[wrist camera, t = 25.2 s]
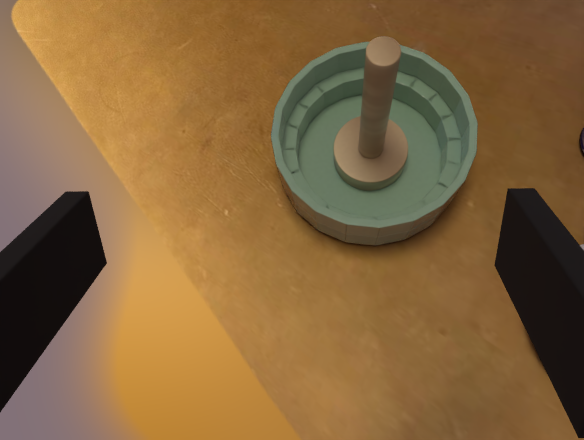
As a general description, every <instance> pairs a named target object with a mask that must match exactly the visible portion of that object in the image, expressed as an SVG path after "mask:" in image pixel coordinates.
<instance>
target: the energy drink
mask: <svg viewBox="0 0 584 440" xmlns="http://www.w3.org/2000/svg"><path fill="white" fill-rule="evenodd" d="M580 141H581V147H582V150H583V152H584V128H583V130H582V133H581V140H580Z"/></svg>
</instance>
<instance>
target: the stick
mask: <svg viewBox="0 0 584 440" xmlns="http://www.w3.org/2000/svg"><path fill="white" fill-rule="evenodd" d="M400 57H401V47H400V45H399V43H398V42H397V41H396V40H395V39H393V38H391V37H387V36H381V37H377V38H375V39H373V40H372V41H371V42H370V43H369V44H368V45H367V47H366V54H365V67H364V80H363V93H362V105H361V116H359V117H356V118H354V119H352V120H350V121H349V122H347V123H346V124H345V125H344V126H343V127H342V128H341V129H340V130H339V132H338V133H337V135H336V138H335V141H334V148H333V150H334V164H335V168H336V170H337V172H338V174H339V175H340V177H341V178H342V179H343V180H344V181H345V182H346V183H347V184H349V185H351V186H352V187H355V188H357V189H360V190H367V191H372V190H379V189H382V188H385V187H387V186H389V185H391V184H392V183H393V182H395V181H396V180H397V179H398V177H399V176H400V175H401V173H402V171H403V169H404V166H405V163H406V159H407V156H408V142H407V138H406V136H405V134H404V132H403V131H402V129H401V128H400V127H399V126H398V125H397V124H396V123H395V122H393V121H392V120H390V119H389V115H390V110H391V105H392V99H393V94H394V89H395V83H396V78H397V73H398V67H399V62H400Z"/></svg>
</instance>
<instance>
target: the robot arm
mask: <svg viewBox="0 0 584 440" xmlns="http://www.w3.org/2000/svg"><path fill="white" fill-rule="evenodd" d="M106 264H107V262H106V258H105V254H104V250H103V246H102V242H101V238H100V235H99V231H98V227H97V224H96V219H95V215H94V211H93V207H92V203H91V199H90V195H89V192H65V193H64V194H63V195H62V196H61V197H60V198H58V199H57V200H56V201H55V202H54V203H53V204H52V205H51V206H50V207H49V208H48V209H47V210H46V211H44V212H43V213H42V214H41V215H40V216H39V217H38V218H37V219H36V220H35V221H34V222H32V223H31V224H30V225H29V226H28V227H27V228H26V229H25V230H24V231H23V232H22V233H21V234H20V235H18V236H17V237H16V238H15V239H14V240H13V241H12V242H11V243H10V244H9V245H8V246H7V247H6V248H4V249H3V250H2V251H1V252H0V412H1V410H2V409H3V408H4V406H5V405H6V403H7V402H8V401H9V399H10V398H11V396H12V395H13V394H14V392H15V391H16V390H17V388H18V387H19V385H20V384H21V383H22V381H23V380H24V378H25V377H26V376H27V374H28V373H29V371H30V370H31V369H32V367H33V366H34V364H35V363H36V362H37V360H38V358H39V357H40V356H41V355H42V353H43V352H44V350H45V349H46V347H47V346H48V345H49V343H50V342H51V340H52V339H53V338H54V336H55V335H56V333H57V332H58V330H59V329H60V328H61V327H62V325H63V324H64V322H65V321H66V320H67V318H68V317H69V315H70V314H71V312H72V311H73V310H74V308H75V307H76V306H77V304H78V303H79V301H80V300H81V299H82V297H83V296H84V294H85V293H86V292H87V290H88V289H89V287H90V286H91V284H92V283H93V282H94V280H95V279H96V277H97V276H98V275H99V273H100V272H101V270H102V269H103V267H104V266H105V265H106ZM495 267H496V269H497V271H498V273H499V275H500V277H501V279H502V282H503V284H504V286H505V288H506V290H507V292H508V294H509V296H510V298H511V300H512V302H513V304H514V306H515V308H516V310H517V312H518V314H519V316H520V318H521V321H522V323H523V325H524V327H525V329H526V331H527V333H528V335H529V337H530V339H531V341H532V343H533V345H534V347H535V349H536V351H537V353H538V355H539V358H540V360H541V362H542V364H543V366H544V368H545V370H546V372H547V374H548V376H549V378H550V380H551V382H552V384H553V386H554V388H555V390H556V392H557V394H558V397H559V399H560V401H561V403H562V405H563V407H564V409H565V411H566V413H567V415H568V417H569V419H570V421H571V423H572V425H573V427H574V429H575V431H576V434H577V436H578V438H584V250H583V249H582V248H581V246H580V245H579V244H578V243H577V241H576V240H575V239H574V238H573V236H572V235H571V234H570V233H569V231H568V230H567V229H566V228H565V226H564V225H563V224H562V223H561V221H560V220H559V219H558V218H557V216H556V215H555V214H554V213H553V211H552V210H551V209H550V208H549V206H548V205H547V204H546V203H545V201H544V200H543V199H542V198H541V196H540V195H539V194H538V192H537V191H536V190H535V189H534V188H524V189H508V191H507V196H506V202H505V208H504V214H503V220H502V225H501V231H500V237H499V243H498V249H497V254H496V260H495Z"/></svg>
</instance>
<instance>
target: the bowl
mask: <svg viewBox="0 0 584 440" xmlns="http://www.w3.org/2000/svg"><path fill="white" fill-rule="evenodd" d="M369 43H370V42H362V43H358V44H353V45H348V46H344V47H339V48H336V49H333V50H332V51H330V52H328V53H326V54H324V55H322V56H320V57H318V58H316V59H314V60H313V61H311V62H310V63H308V64H307V65H306V66H305V67H304V68H303V69H302V70H301V71H300V72H299V73H298V74H297V75H296V76H295V77H294V78H293V79H292V80H291V81H290V82H289V83H288V85H287V87H286V89H285V90H284V92H283V94H282V96H281V98H280V100H279V102H278V104H277V106H276V108H275V112H274V119H273V125H272V132H271V140H272V145H273V151H274V156H275V161H276V165H277V169H278V172H279V175H280V178H281V182H282V185H283V188H284V190H285V192H286V194H287V195H288V197H289V199H290V201H291V202H292V204H293V206H294V207H295V209H296V211H297V212H298V213H299V214H300V215H301V216H302V217H304V218H305V219H306V220H307V221H308V222H309V223H310V224H311V225H313V226H314V227H315V228H316V229H317V230H319V231H321V232H323V233H325V234H328V235H330V236H332V237H335V238H337V239H339V240H342V241H344V242H348V243H357V244H367V245H380V244H385V243H390V242H395V241H400V240H405V239H407V238H409V237H411V236H412V235H414V234H416V233H418V232H420V231H421V230H423V229H425V228H427V227H429V226H430V225H432V224H433V222H434V221H435V220H436V219H437V218H438V217H439V216H440V215H441V214H442V212H443V211H444V210H445V209H446V208H447V207H448V206H449V205H450V203H451V202H452V200H453V199H454V197H455V195H456V194H457V192H458V191H459V189H460V188H461V186H462V185H463V183H464V181H465V179H466V177H467V175H468V172H469V170H470V167H471V165H472V163H473V160H474V158H475V155H476V152H477V120H476V117H475V114H474V111H473V107H472V104H471V101H470V98H469V95H468V94H467V92H466V91H465V90H464V89H463V87H462V86H461V85H460V83H459V82H458V81H457V79H456V78H455V77H454V75H453V74H452V73H451V72H450V71H449V70H448V69H447V68H445V67H444V66H442V65H441V64H440V63H438V62H437V61H435V60H434V59H432V58H431V57H430V56H428V55H427V54H425V53H423V52H420V51H417V50H414V49H411V48H408V47H405V46H402V45H400V47H401V57H400V62H399V67H398V73H397V78H396V83H395V89H394V94H393V99H392V105H391V110H390V115H389V119H390V120H392V121H393V122H395V123H396V124H397V125H398V126H399V127H400V128H401V129H402V131H403V132H404V134H405V136H406V138H407V142H408V156H407V159H406V163H405V166H404V169H403V171H402V173H401V175H400V176H399V177H398V179H397V180H396V181H395V182H393V183H392V184H391V185H389V186H387V187H385V188H382V189H379V190H372V191H367V190H360V189H357V188H355V187H352V186H351V185H349V184H347V183H346V182H345V181H344V180H343V179H342V178H341V177H340V175H339V174H338V172H337V170H336V168H335V164H334V150H333V148H334V141H335V138H336V135H337V133H338V132H339V130H340V129H341V128H342V127H343V126H344V125H345V124H346V123H347V122H349V121H350V120H352V119H354V118H356V117H359V116H361V105H362V93H363V80H364V67H365V54H366V47H367V45H368V44H369Z"/></svg>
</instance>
